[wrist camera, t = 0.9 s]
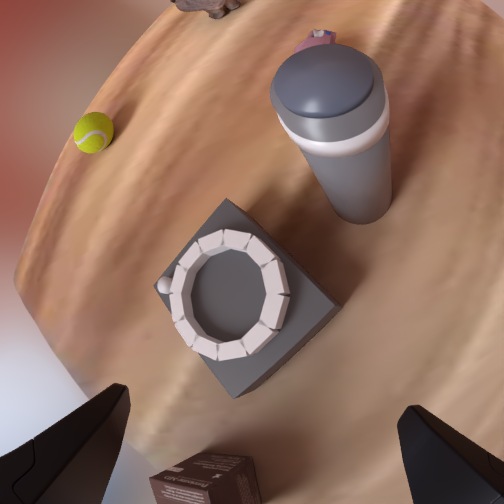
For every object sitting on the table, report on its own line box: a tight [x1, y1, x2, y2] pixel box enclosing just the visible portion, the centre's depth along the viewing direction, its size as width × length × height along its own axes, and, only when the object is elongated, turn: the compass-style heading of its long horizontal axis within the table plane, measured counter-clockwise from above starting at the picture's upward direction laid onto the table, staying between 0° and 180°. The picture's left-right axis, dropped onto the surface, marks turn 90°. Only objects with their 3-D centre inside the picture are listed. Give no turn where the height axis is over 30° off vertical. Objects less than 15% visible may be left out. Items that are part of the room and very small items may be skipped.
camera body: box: [154, 198, 342, 399], centre depth 23 cm, size 12×10×5 cm
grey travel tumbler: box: [270, 44, 392, 224], centre depth 17 cm, size 5×5×14 cm
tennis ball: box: [74, 112, 114, 153], centre depth 38 cm, size 7×7×7 cm
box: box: [149, 453, 262, 504], centre depth 18 cm, size 6×6×7 cm
